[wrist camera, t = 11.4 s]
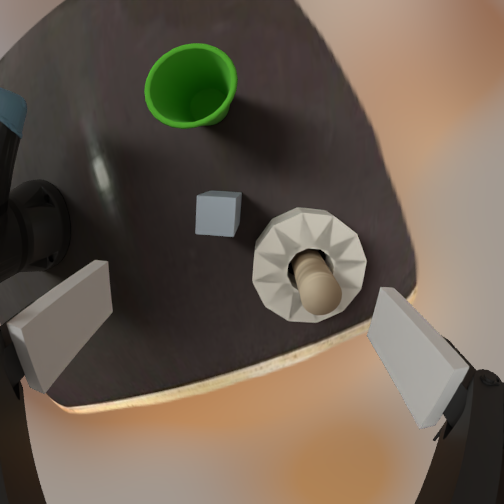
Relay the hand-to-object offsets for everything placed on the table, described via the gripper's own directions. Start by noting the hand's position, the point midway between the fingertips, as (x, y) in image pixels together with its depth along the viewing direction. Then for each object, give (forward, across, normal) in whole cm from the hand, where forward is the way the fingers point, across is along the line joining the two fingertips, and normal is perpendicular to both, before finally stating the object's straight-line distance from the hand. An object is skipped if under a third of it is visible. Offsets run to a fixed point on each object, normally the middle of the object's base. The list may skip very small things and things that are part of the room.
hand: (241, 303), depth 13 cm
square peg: (+25, -3, +1) cm, 26 cm away
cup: (+26, -6, +14) cm, 30 cm away
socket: (+25, +8, -5) cm, 26 cm away
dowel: (+25, +8, -5) cm, 27 cm away
